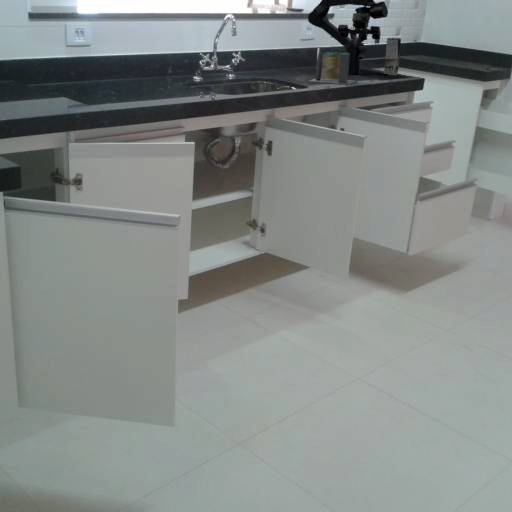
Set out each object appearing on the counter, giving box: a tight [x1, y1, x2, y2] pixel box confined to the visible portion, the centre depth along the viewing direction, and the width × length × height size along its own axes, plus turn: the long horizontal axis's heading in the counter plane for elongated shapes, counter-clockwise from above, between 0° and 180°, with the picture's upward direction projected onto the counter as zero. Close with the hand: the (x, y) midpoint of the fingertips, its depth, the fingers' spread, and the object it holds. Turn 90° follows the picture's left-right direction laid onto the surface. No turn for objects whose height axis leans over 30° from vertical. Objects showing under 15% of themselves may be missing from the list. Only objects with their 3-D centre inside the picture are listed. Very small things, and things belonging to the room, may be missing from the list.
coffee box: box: [383, 37, 402, 76], centre depth 334 cm, size 9×6×16 cm
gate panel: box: [321, 52, 350, 80], centre depth 306 cm, size 12×1×11 cm, turn 95°
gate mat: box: [308, 77, 357, 85], centre depth 307 cm, size 18×11×1 cm, turn 67°
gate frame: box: [315, 47, 349, 84], centre depth 302 cm, size 14×2×14 cm, turn 59°
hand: (354, 46), depth 315 cm, fingers closed
